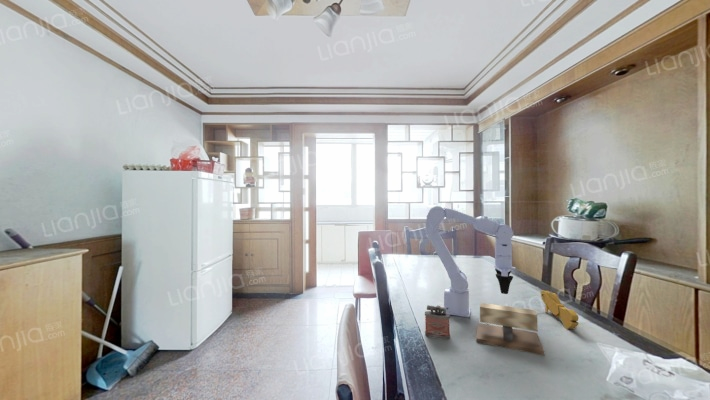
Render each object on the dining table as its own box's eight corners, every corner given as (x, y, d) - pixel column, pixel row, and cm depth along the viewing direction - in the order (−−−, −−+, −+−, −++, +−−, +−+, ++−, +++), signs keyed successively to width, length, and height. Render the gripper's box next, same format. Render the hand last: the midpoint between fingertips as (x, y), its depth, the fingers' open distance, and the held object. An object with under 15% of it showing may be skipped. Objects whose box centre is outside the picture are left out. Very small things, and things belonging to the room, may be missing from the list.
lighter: (450, 335, 92) (449, 305, 92) (450, 340, 89) (449, 309, 89) (425, 331, 95) (425, 303, 95) (424, 336, 91) (424, 306, 91)
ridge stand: (476, 342, 87) (476, 326, 87) (477, 326, 98) (477, 312, 98) (544, 355, 79) (543, 338, 79) (537, 336, 90) (537, 321, 90)
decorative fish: (538, 303, 115) (540, 282, 112) (546, 303, 114) (549, 282, 112) (567, 341, 94) (570, 316, 91) (577, 342, 93) (581, 317, 91)
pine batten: (480, 321, 90) (479, 306, 90) (480, 317, 94) (480, 302, 94) (537, 331, 83) (537, 315, 83) (535, 325, 87) (535, 310, 87)
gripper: (517, 259, 97) (517, 298, 97) (513, 252, 110) (514, 286, 110) (494, 258, 100) (495, 295, 100) (494, 251, 113) (494, 284, 113)
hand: (503, 290), depth 105 cm, fingers open, 7 cm apart
